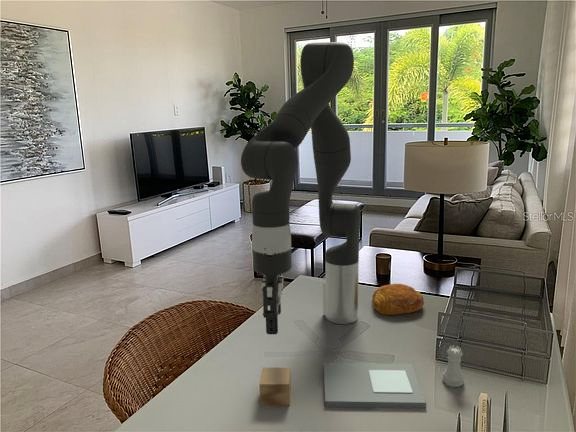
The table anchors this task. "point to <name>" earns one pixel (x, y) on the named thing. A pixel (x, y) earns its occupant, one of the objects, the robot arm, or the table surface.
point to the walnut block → (275, 386)
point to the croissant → (397, 299)
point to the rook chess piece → (453, 368)
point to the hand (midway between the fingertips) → (273, 323)
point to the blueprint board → (372, 385)
